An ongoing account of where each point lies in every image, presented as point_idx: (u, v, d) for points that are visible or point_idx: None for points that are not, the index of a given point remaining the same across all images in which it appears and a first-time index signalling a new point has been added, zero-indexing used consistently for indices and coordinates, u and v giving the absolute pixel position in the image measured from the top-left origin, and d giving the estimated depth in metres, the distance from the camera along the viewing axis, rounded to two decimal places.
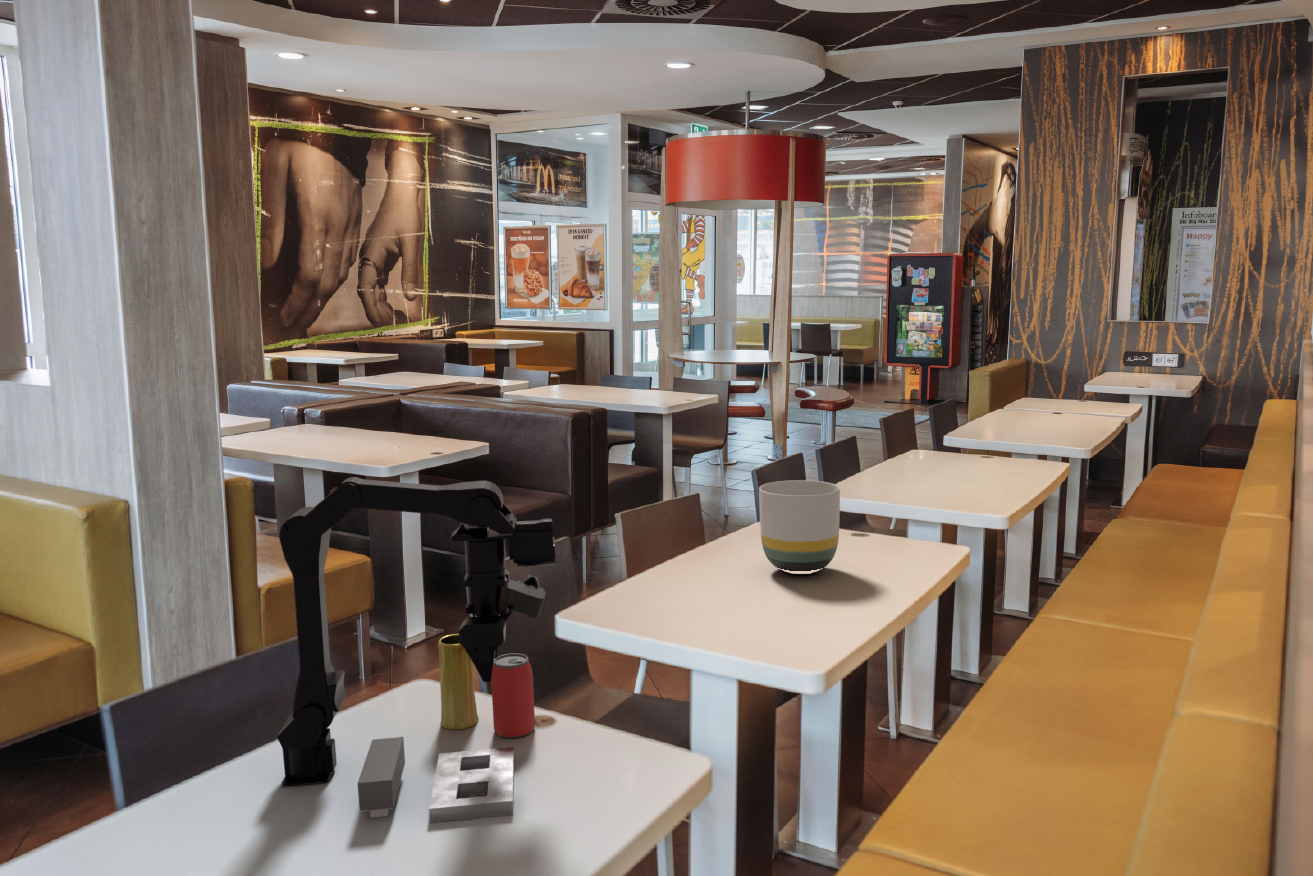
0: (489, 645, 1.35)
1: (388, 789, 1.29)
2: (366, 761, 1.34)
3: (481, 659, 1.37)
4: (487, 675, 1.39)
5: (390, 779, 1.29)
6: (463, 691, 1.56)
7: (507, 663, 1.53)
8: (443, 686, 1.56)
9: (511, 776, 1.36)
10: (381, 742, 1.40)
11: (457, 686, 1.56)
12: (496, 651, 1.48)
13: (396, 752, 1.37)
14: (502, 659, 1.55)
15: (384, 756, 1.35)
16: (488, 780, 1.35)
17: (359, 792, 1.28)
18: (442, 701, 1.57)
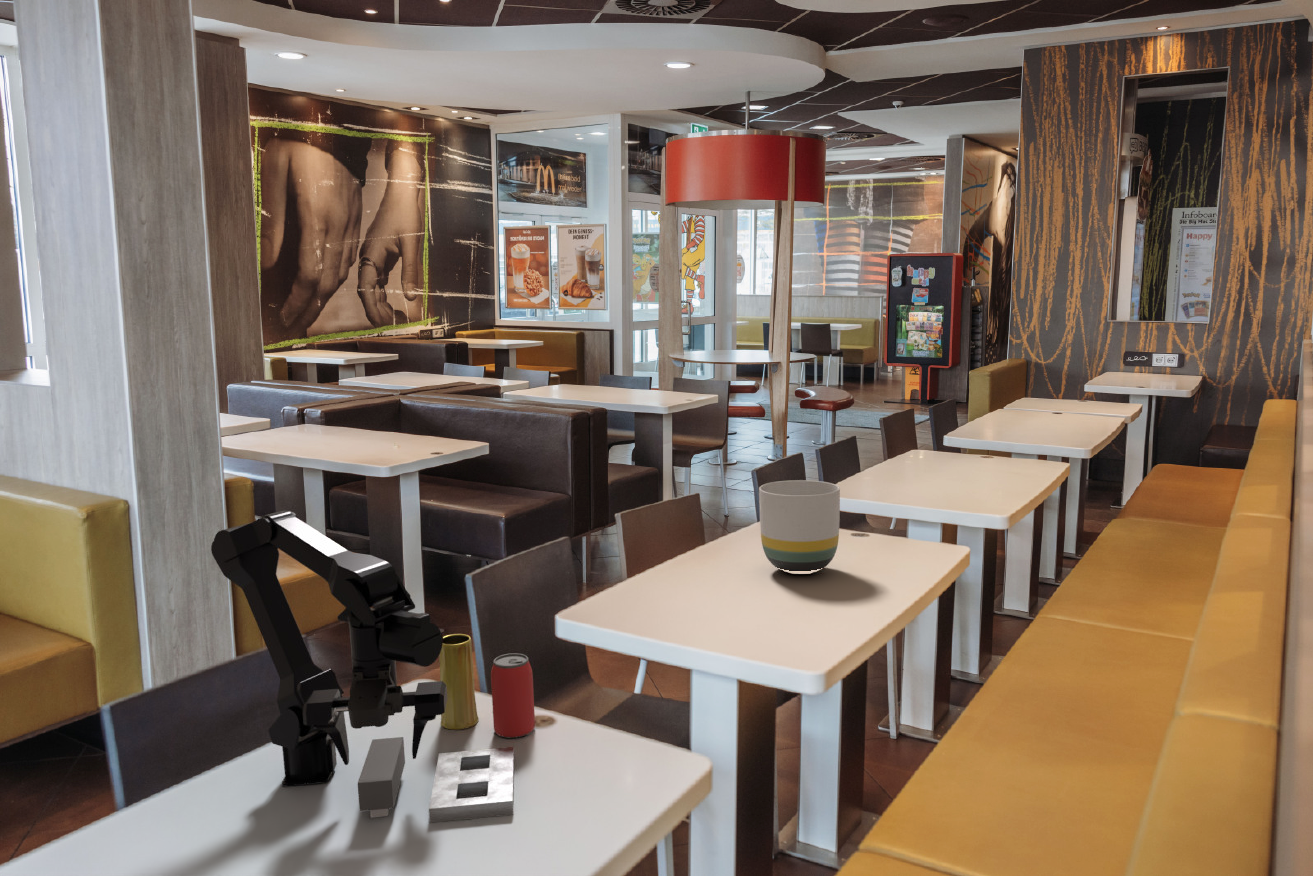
0: None
1: (388, 789, 1.29)
2: (366, 761, 1.34)
3: None
4: None
5: (390, 779, 1.29)
6: (463, 691, 1.56)
7: (507, 663, 1.53)
8: None
9: (511, 776, 1.36)
10: (381, 742, 1.40)
11: (457, 686, 1.56)
12: (412, 751, 1.35)
13: (396, 752, 1.37)
14: (502, 659, 1.55)
15: (384, 756, 1.35)
16: (488, 780, 1.35)
17: (359, 792, 1.28)
18: None
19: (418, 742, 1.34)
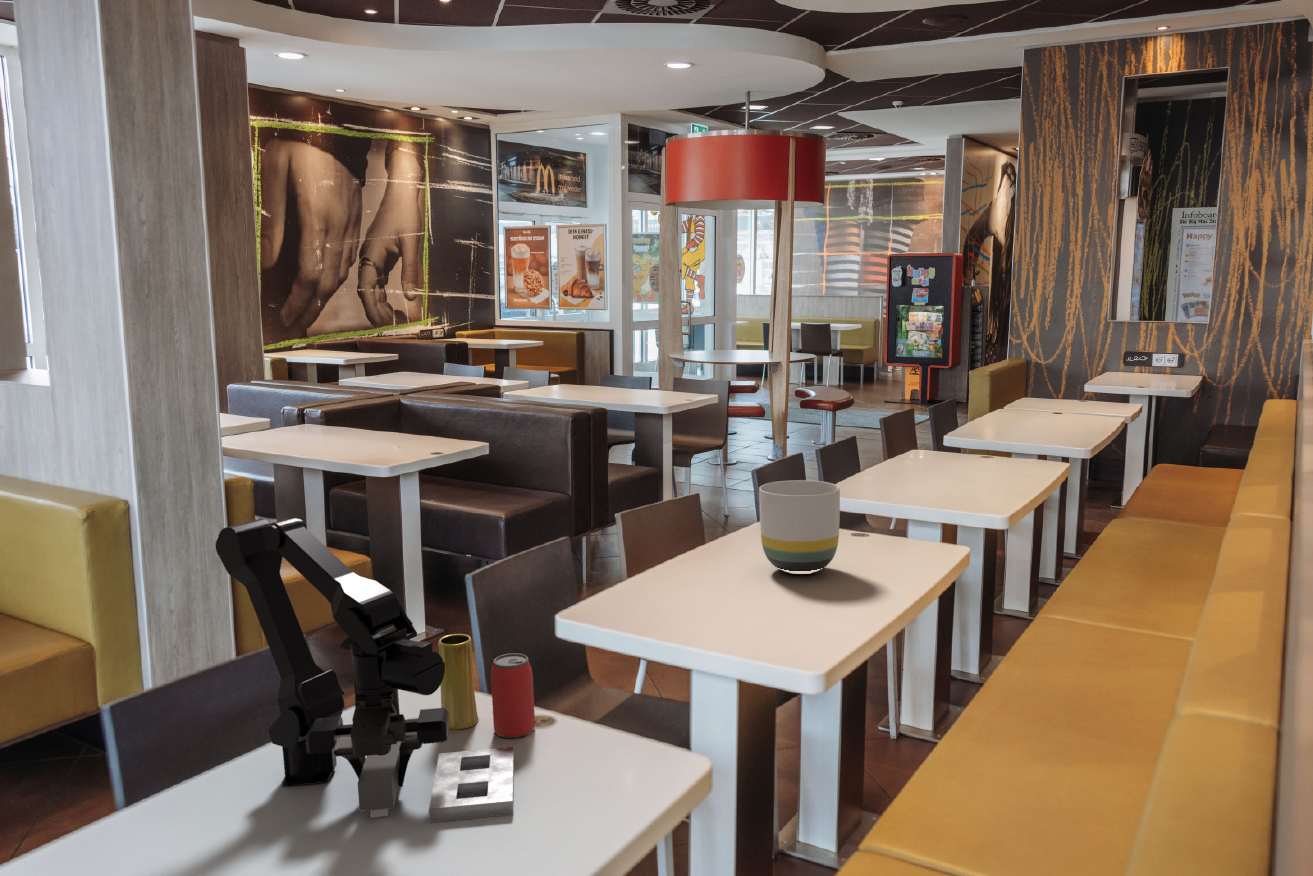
0: None
1: (388, 789, 1.29)
2: (366, 761, 1.34)
3: None
4: None
5: (390, 779, 1.29)
6: (463, 691, 1.56)
7: (507, 663, 1.53)
8: (443, 686, 1.56)
9: (511, 776, 1.36)
10: None
11: (457, 686, 1.56)
12: None
13: (396, 752, 1.37)
14: (502, 659, 1.55)
15: (384, 756, 1.35)
16: (488, 780, 1.35)
17: (359, 792, 1.28)
18: (442, 701, 1.57)
19: (404, 771, 1.34)
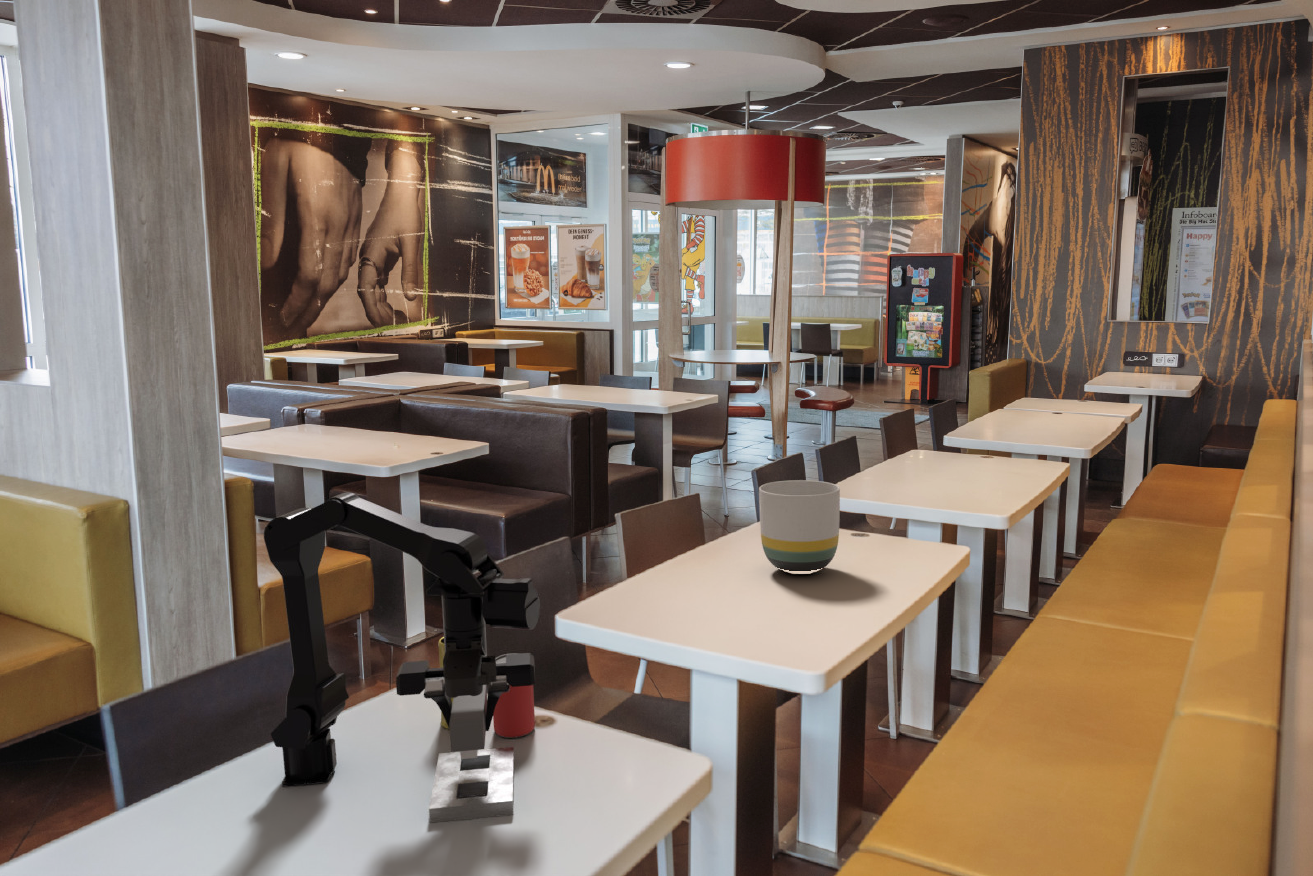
0: (424, 692, 1.33)
1: (479, 730, 1.29)
2: (454, 704, 1.35)
3: None
4: None
5: (481, 720, 1.29)
6: None
7: None
8: None
9: (511, 776, 1.36)
10: None
11: None
12: None
13: (482, 696, 1.37)
14: (502, 659, 1.55)
15: (470, 700, 1.36)
16: (488, 780, 1.35)
17: (451, 733, 1.29)
18: None
19: (491, 714, 1.35)
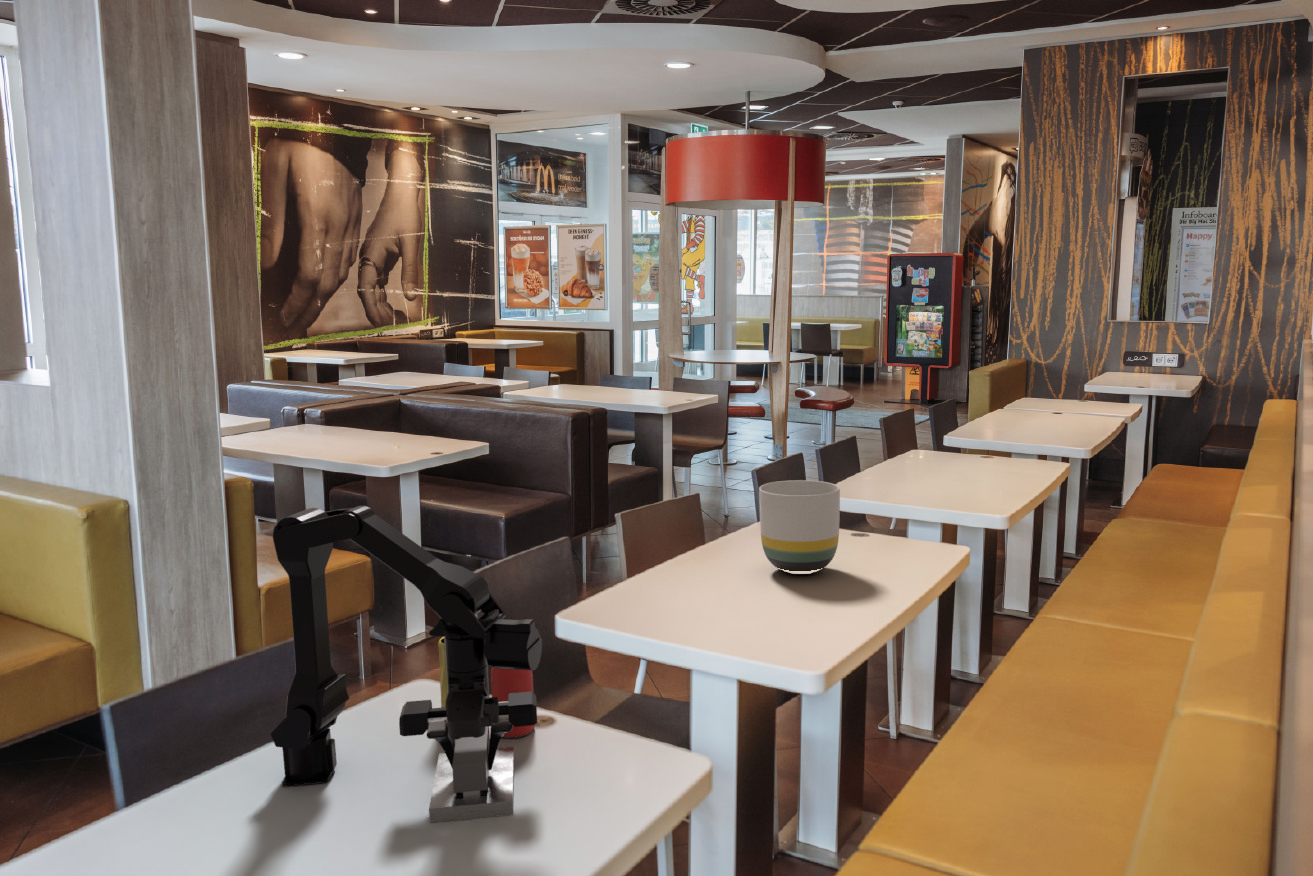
0: (427, 732, 1.34)
1: (482, 771, 1.30)
2: (456, 744, 1.35)
3: None
4: None
5: (484, 761, 1.30)
6: None
7: None
8: (443, 686, 1.56)
9: (511, 776, 1.36)
10: None
11: None
12: (488, 763, 1.36)
13: (485, 735, 1.38)
14: None
15: (473, 739, 1.37)
16: (488, 780, 1.35)
17: (454, 774, 1.30)
18: (442, 701, 1.57)
19: (494, 753, 1.36)
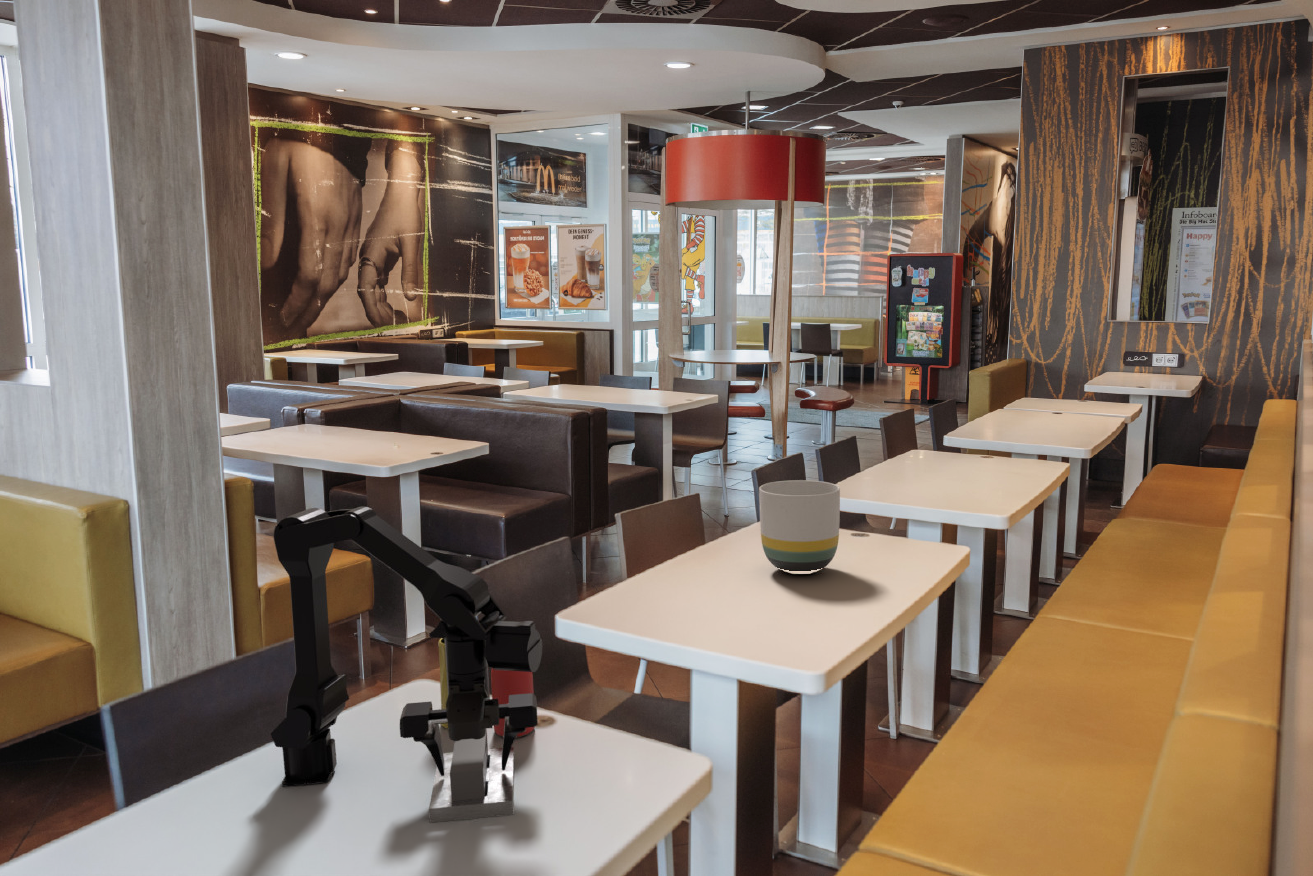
0: None
1: (480, 779, 1.30)
2: (454, 752, 1.36)
3: None
4: None
5: (481, 769, 1.30)
6: None
7: None
8: (443, 686, 1.56)
9: (511, 776, 1.36)
10: None
11: None
12: None
13: (483, 743, 1.38)
14: None
15: (471, 747, 1.37)
16: (488, 780, 1.35)
17: (451, 782, 1.30)
18: (442, 701, 1.57)
19: (508, 754, 1.36)
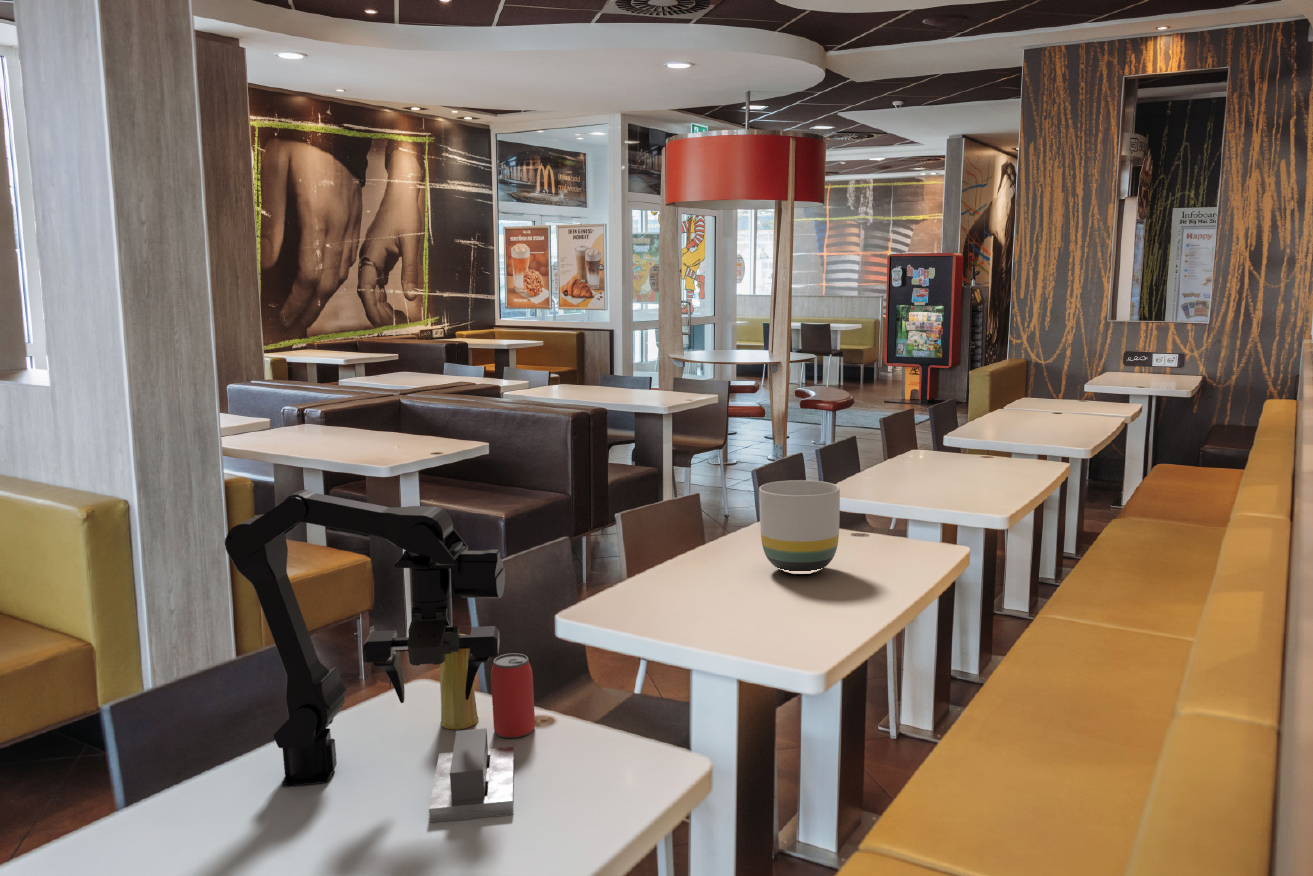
0: None
1: (480, 779, 1.30)
2: (454, 752, 1.36)
3: None
4: None
5: (481, 769, 1.30)
6: (463, 691, 1.56)
7: (507, 663, 1.53)
8: (443, 686, 1.56)
9: (511, 776, 1.36)
10: (465, 734, 1.41)
11: (457, 686, 1.56)
12: (465, 692, 1.40)
13: (483, 743, 1.38)
14: (502, 659, 1.55)
15: (471, 747, 1.37)
16: (488, 780, 1.35)
17: (451, 782, 1.30)
18: (442, 701, 1.57)
19: (471, 683, 1.39)
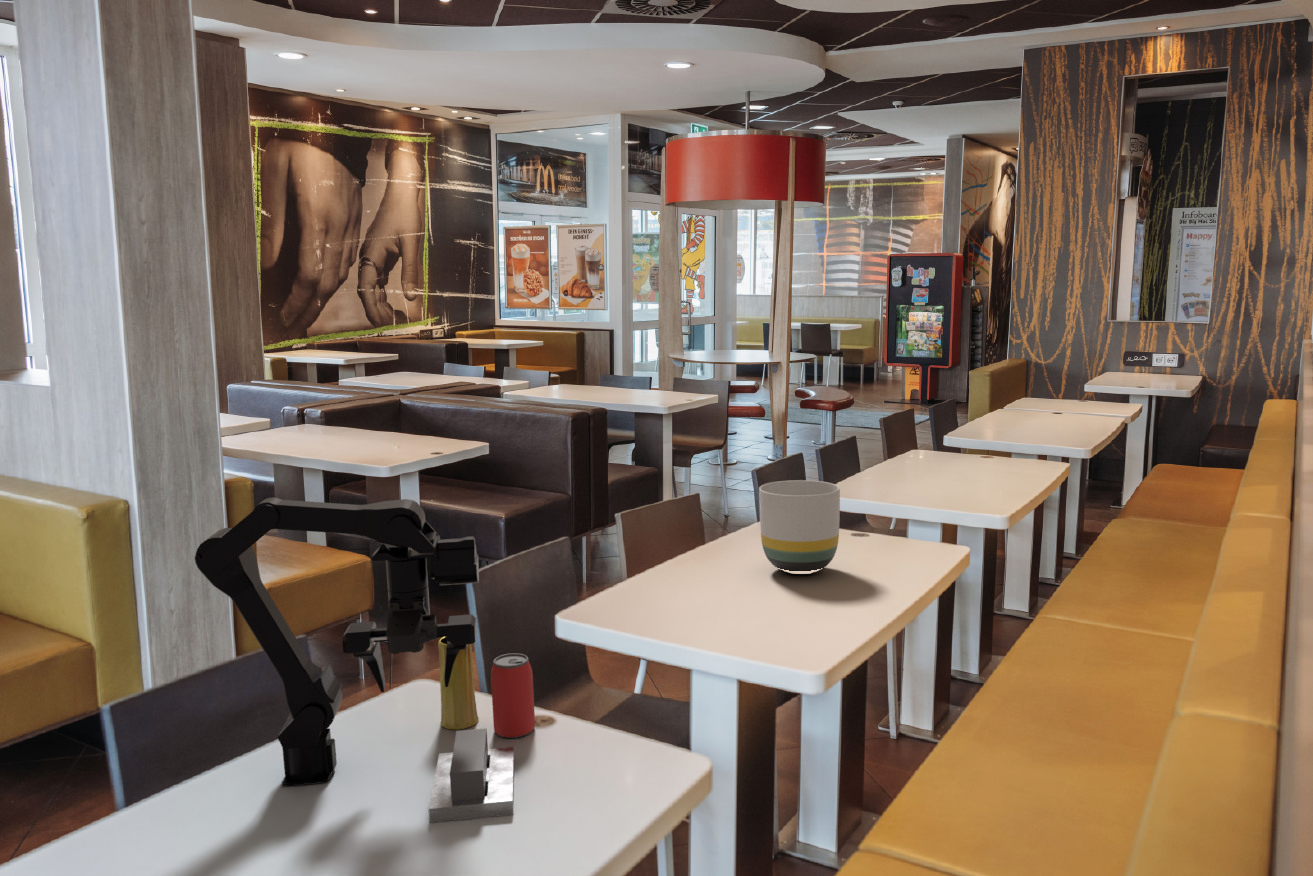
0: None
1: (480, 779, 1.30)
2: (454, 752, 1.36)
3: None
4: None
5: (481, 769, 1.30)
6: (463, 691, 1.56)
7: (507, 663, 1.53)
8: (443, 686, 1.56)
9: (511, 776, 1.36)
10: (465, 734, 1.41)
11: (457, 686, 1.56)
12: None
13: (483, 743, 1.38)
14: (502, 659, 1.55)
15: (471, 747, 1.37)
16: (488, 780, 1.35)
17: (451, 782, 1.30)
18: (442, 701, 1.57)
19: (450, 671, 1.42)
